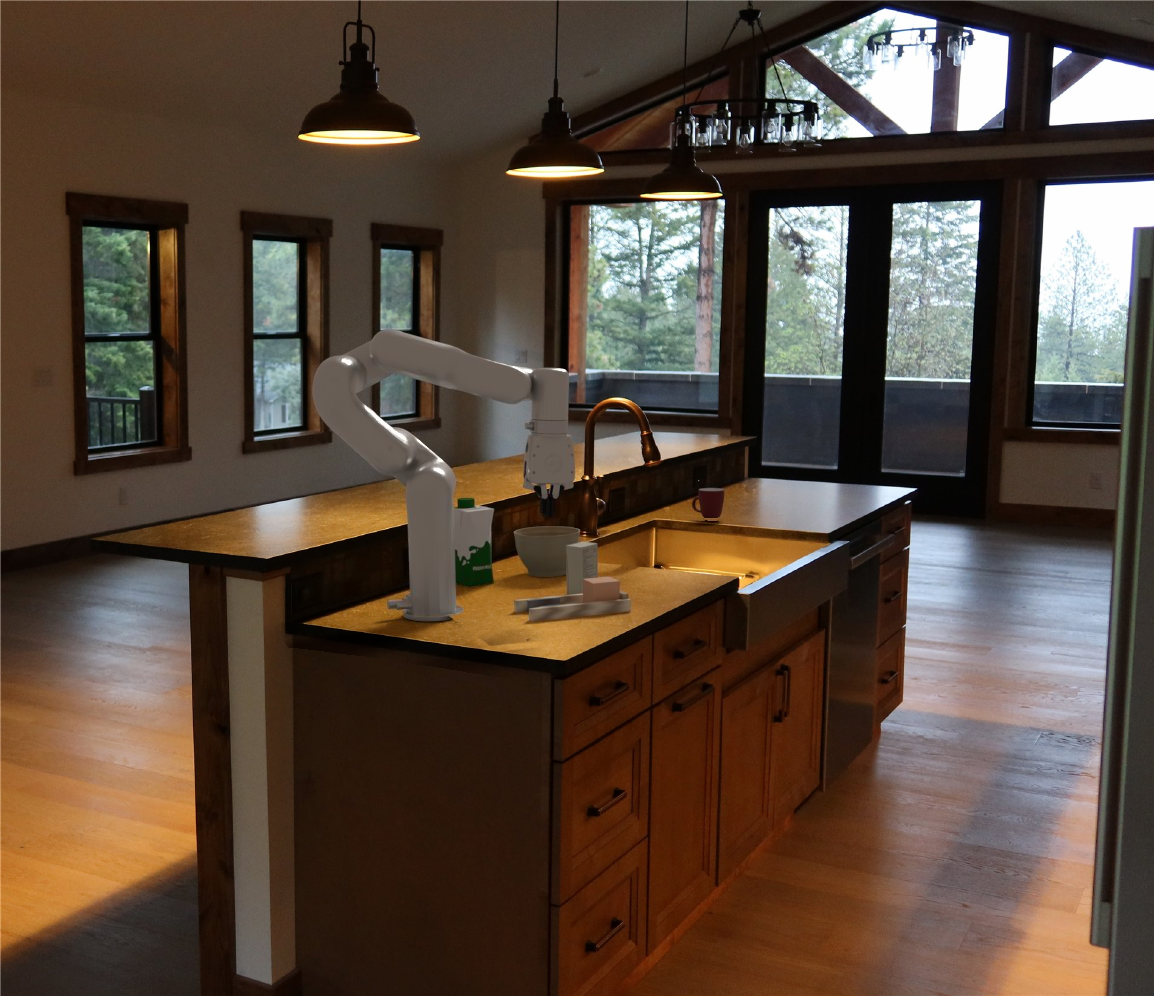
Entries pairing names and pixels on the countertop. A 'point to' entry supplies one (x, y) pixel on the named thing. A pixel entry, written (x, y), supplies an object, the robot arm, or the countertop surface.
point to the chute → (569, 606)
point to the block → (600, 589)
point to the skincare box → (580, 565)
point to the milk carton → (472, 543)
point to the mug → (710, 502)
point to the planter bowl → (545, 549)
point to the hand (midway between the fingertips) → (547, 516)
